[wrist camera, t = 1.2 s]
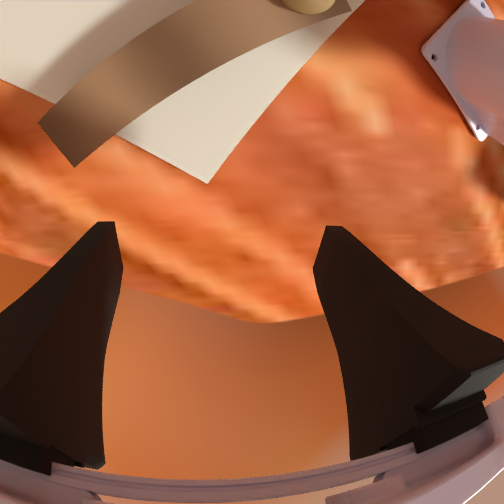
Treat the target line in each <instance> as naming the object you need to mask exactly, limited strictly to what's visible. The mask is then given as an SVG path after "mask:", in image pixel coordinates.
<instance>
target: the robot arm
mask: <svg viewBox="0 0 504 504" xmlns="http://www.w3.org/2000/svg"><path fill="white" fill-rule="evenodd" d="M481 5H482V7H481ZM421 51H422V54H423V56H424V57H425V59H426V60H427V61H428V63H429V64H430V65H431V67H432V68H433V69H434V71H435V72H436V74H437V75H438V76H439V78H440V79H441V81H442V82H443V84H444V85H445V87H446V88H447V90H448V91H449V93H450V94H451V96H452V97H453V99H454V101H455V102H456V104H457V105H458V107H459V109H460V110H461V112H462V114H463V115H464V117H465V119H466V120H467V122H468V124H469V126H470V128H471V129H472V131H473V133H474V135H475V137H476V138H477V139H478V140H479V141H483V140H484V139H485V138H486V137H487V136H488V135H489V136H490V137H492V138H493V139H495V140H496V141H498V142H499V143H501V144H502V145H504V21H503V20H499V19H495V18H494V16H493V14H492V12H491V11H490V9H489V7H488V6H487V4H486V2H485V1H484V0H466V1H465V2H464V3H463V4H462V5H461V6H460V7H459V8H458V9H457V10H456V11H455V12H454V13H453V15H452V16H451V17H450V18H449V19H448V20H447V21H446V22H445V23H444V24H443V25H442V26H441V27H440V28H439V29H438V30H437V31H436V32H435V33H434V34H433V35H432V36H431V38H430V39H429V40H428V41H427V42H426V43H425V44H424V45H423V46H422V49H421ZM432 54H433V55H434V59H433V60H432ZM476 126H477V127H476ZM122 273H123V263H122V259H121V254H120V249H119V244H118V239H117V233H116V228H115V222H114V221H113V222H97V223H96V224H95V225H94V226H93V227H92V228H90V229H89V230H88V231H87V232H86V233H85V234H84V236H83V237H82V238H81V239H80V240H79V241H78V242H77V243H76V244H75V245H74V246H73V247H72V248H71V249H70V250H69V251H68V252H67V253H66V254H65V255H64V256H63V257H62V258H61V259H60V260H59V261H58V262H57V263H56V264H55V265H54V266H53V267H52V268H51V269H50V270H49V271H48V272H47V273H46V274H45V275H44V276H43V277H42V278H41V279H40V280H39V281H38V282H37V283H35V284H34V285H33V286H32V287H31V288H30V289H29V290H28V291H27V292H25V293H24V294H23V295H22V296H21V297H20V298H19V299H17V300H16V301H15V302H14V303H12V304H11V305H10V306H8V307H7V308H6V309H5V310H3V311H2V312H1V313H0V504H111V503H106V502H103V501H102V500H101V498H100V497H99V496H98V495H97V494H100V495H107V496H112V497H119V498H127V499H135V500H144V501H145V500H146V501H156V502H157V501H158V502H175V503H224V502H242V501H253V500H263V499H272V498H279V497H286V496H292V495H298V494H304V493H309V492H314V491H319V490H324V489H328V488H333V487H337V486H341V485H345V484H348V483H352V482H356V481H359V480H363V479H366V478H370V477H373V476H376V475H377V476H376V477H375V478H374V481H373V483H372V484H369V485H366V486H363V487H359V488H356V489H353V490H349V491H347V492H343V493H340V494H336V495H333V496H329V497H326V499H325V501H326V504H464V503H466V502H467V501H468V500H469V499H470V498H472V497H473V496H474V495H475V494H476V493H478V492H479V491H480V490H481V489H482V488H483V487H485V486H486V485H487V484H488V483H489V482H490V481H491V480H492V479H493V478H494V477H495V476H496V475H497V474H498V473H500V472H501V471H502V470H503V469H504V396H503V397H501V398H500V399H498V400H496V401H494V402H492V403H491V404H489V405H488V406H486V407H485V408H484V405H483V403H482V401H483V400H485V399H486V394H485V392H484V389H485V388H486V387H488V386H489V385H490V384H491V383H492V382H493V381H495V380H496V379H497V378H498V377H499V376H500V375H501V374H502V373H503V372H504V342H503V340H502V339H500V338H498V337H496V336H493V335H491V334H489V333H487V332H485V331H483V330H480V329H478V328H476V327H474V326H472V325H471V324H469V323H467V322H465V321H463V320H461V319H460V318H458V317H456V316H455V315H453V314H451V313H449V312H448V311H447V310H445V309H443V308H442V307H440V306H438V305H437V304H436V303H434V302H433V301H431V300H430V299H428V298H427V297H426V296H424V295H423V294H422V293H420V292H419V291H418V290H416V289H415V288H414V287H412V286H411V285H410V284H409V283H407V282H406V281H405V280H404V279H402V278H401V277H400V276H399V275H398V274H396V273H395V272H394V271H393V270H392V269H391V268H389V267H388V266H387V265H386V264H385V263H384V262H383V261H381V260H380V259H379V258H378V257H377V256H376V255H375V254H374V253H373V252H371V251H370V250H369V249H368V248H367V247H366V246H365V245H364V244H363V243H361V242H360V241H359V240H358V239H357V238H356V237H355V236H353V235H352V234H351V233H350V232H349V231H347V230H346V229H345V228H344V227H342V226H326V228H325V231H324V234H323V238H322V241H321V244H320V247H319V251H318V254H317V257H316V260H315V263H314V266H313V273H314V278H315V283H316V288H317V292H318V295H319V298H320V301H321V304H322V307H323V310H324V313H325V316H326V319H327V322H328V325H329V328H330V330H331V333H332V336H333V339H334V342H335V346H336V349H337V352H338V357H339V362H340V367H341V372H342V376H343V383H344V389H345V396H346V404H347V413H348V424H349V442H350V443H349V444H350V459H351V461H349V462H345V463H341V464H336V465H332V466H327V467H322V468H317V469H312V470H307V471H300V472H294V473H287V474H280V475H272V476H263V477H253V478H239V479H219V480H176V479H156V478H143V477H133V476H124V475H116V474H109V473H103V472H96V471H91V470H86V469H81V468H76V467H74V466H77V467H82V468H84V467H86V468H92V469H99V468H101V467H102V466H103V465H104V464H105V455H104V445H103V430H102V388H103V386H102V385H103V372H104V359H105V353H106V347H107V343H108V338H109V334H110V329H111V325H112V321H113V317H114V313H115V309H116V305H117V301H118V297H119V293H120V287H121V280H122ZM94 493H95V494H94Z"/></svg>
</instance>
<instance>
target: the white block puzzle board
mask: <svg viewBox="0 0 504 504" xmlns="http://www.w3.org/2000/svg"><path fill="white" fill-rule="evenodd" d="M194 1H196V0H0V79H2V80H4V81H6V82H9V83H11V84H13V85H15V86H17V87H19V88H22V89H24V90H26V91H28V92H30V93H32V94H34V95H37V96H39V97H41V98H43V99H45V100H47V101H49V102H51V103H53V104H56V103H57V102H58V101H59V100H60V99H61V98H62V97H63V96H64V95H65V94H66V93H67V92H69V91H70V90H71V89H72V88H73V87H74V86H75V85H76V84H77V83H78V82H79V81H81V80H82V79H83V78H84V77H85V76H86V75H87V74H89V73H90V72H91V71H92V70H93V69H95V68H96V67H97V66H98V65H99V64H101V63H102V62H103V61H104V60H106V59H107V58H108V57H109V56H111V55H112V54H113V53H115V52H116V51H117V50H119V49H120V48H121V47H123V46H124V45H125V44H127V43H128V42H130V41H131V40H132V39H134V38H135V37H137V36H138V35H140V34H141V33H143V32H144V31H145V30H147V29H149V28H150V27H152V26H153V25H155V24H156V23H158V22H159V21H161V20H163V19H164V18H166V17H168V16H169V15H171V14H173V13H174V12H176V11H178V10H179V9H181V8H183V7H185V6H187V5H188V4H190V3H192V2H194ZM364 1H365V0H347V2H348V4H349V6H350V8H351V10H352V11H350V12H347V13H344V14H341V15H338V16H335V17H332V18H329V19H326V20H323V21H320V22H317V23H314V24H312V25H309V26H306V27H304V28H301V29H299V30H296V31H294V32H291V33H289V34H286V35H284V36H282V37H279V38H277V39H275V40H272V41H270V42H268V43H266V44H264V45H261V46H259V47H257V48H255V49H253V50H251V51H249V52H247V53H245V54H243V55H241V56H239V57H237V58H235V59H233V60H231V61H229V62H227V63H225V64H223V65H221V66H219V67H218V68H216V69H214V70H212V71H210V72H209V73H207V74H205V75H203V76H202V77H200V78H198V79H196V80H195V81H193V82H191V83H190V84H188V85H186V86H185V87H183V88H181V89H180V90H178V91H177V92H175V93H173V94H172V95H170V96H169V97H167V98H166V99H164V100H163V101H161V102H159V103H158V104H156V105H155V106H154V107H152V108H151V109H149V110H148V111H146V112H145V113H143V114H142V115H140V116H139V117H138V118H136V119H135V120H133V121H132V122H131V123H129V124H128V125H127V126H125V127H124V128H123V129H121V130H120V131H119V132H117V133H116V134H115V135H117V136H119V137H121V138H123V139H125V140H127V141H129V142H131V143H133V144H134V145H136V146H138V147H140V148H142V149H144V150H146V151H148V152H150V153H151V154H153V155H155V156H157V157H159V158H161V159H163V160H165V161H166V162H168V163H170V164H172V165H174V166H176V167H177V168H179V169H181V170H183V171H185V172H187V173H188V174H190V175H192V176H194V177H196V178H197V179H199V180H201V181H203V182H205V183H206V184H208V182H209V181H210V180H211V178H212V177H213V176H214V174H215V173H216V172H217V170H218V169H219V168H220V166H221V165H222V164H223V162H224V161H225V160H226V158H227V157H228V156H229V154H230V153H231V152H232V151H233V149H234V148H235V147H236V145H237V144H238V143H239V142H240V140H241V139H242V138H243V136H244V135H245V134H246V133H247V131H248V130H249V129H250V128H251V126H252V125H253V124H254V123H255V121H256V120H257V119H258V118H259V117H260V115H261V114H262V113H263V112H264V110H265V109H266V108H267V107H268V106H269V104H270V103H271V102H272V101H273V100H274V98H275V97H276V96H277V95H278V94H279V92H280V91H281V90H282V89H283V88H284V87H285V85H286V84H287V83H288V82H289V81H290V80H291V79H292V77H293V76H294V75H295V74H296V73H297V72H298V71H299V69H300V68H301V67H302V66H303V65H304V64H305V63H306V62H307V60H308V59H309V58H310V57H311V56H312V55H313V54H314V53H315V52H316V51H317V50H318V48H319V47H320V46H321V45H322V44H323V43H324V42H325V41H326V40H327V39H328V38H329V37H330V36H331V35H332V34H333V32H334V31H335V30H336V29H337V28H338V27H339V26H340V25H341V24H342V23H343V22H344V21H345V20H346V19H347V18H348V17H349V16H350V15H351V14H352V13H353V12H354V11H355V10H356V9H357V8H358V7H359V6H360V5H361V4H362V3H363V2H364Z"/></svg>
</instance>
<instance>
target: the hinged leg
mask: <svg viewBox="0 0 504 504" xmlns="http://www.w3.org/2000/svg"><path fill="white" fill-rule="evenodd" d="M350 11H352V10H351V8H350V6H349V4H348V2H347V0H196V1H194V2H192V3H190V4H188V5H187V6H185V7H183V8H181V9H179V10H178V11H176V12H174V13H173V14H171V15H169V16H168V17H166V18H164V19H163V20H161V21H159V22H158V23H156V24H155V25H153V26H152V27H150V28H149V29H147V30H145V31H144V32H143V33H141V34H140V35H138V36H137V37H135V38H134V39H132V40H131V41H130V42H128V43H127V44H125V45H124V46H123V47H121V48H120V49H119V50H117V51H116V52H115V53H113V54H112V55H111V56H109V57H108V58H107V59H106V60H104V61H103V62H102V63H101V64H99V65H98V66H97V67H96V68H95V69H93V70H92V71H91V72H90V73H89V74H87V75H86V76H85V77H84V78H83V79H82V80H81V81H79V82H78V83H77V84H76V85H75V86H74V87H73V88H72V89H71V90H70V91H69V92H67V93H66V94H65V95H64V96H63V97H62V98H61V99H60V100H59V101H58V102H57V103H56V104H55V105H54V106H53V107H52V108H51V109H50V110H49V111H48V112H47V113H46V114H45V115H44V116H43V117H42V118H41V120H40V121H39V122H38V124H39V125H40V126H41V127H42V129H43V130H44V131H45V132H46V134H47V135H48V136H49V137H50V139H51V140H52V141H53V142H54V144H55V145H56V146H57V147H58V149H59V150H60V151H61V152H62V153H63V155H64V156H65V157H66V158H67V159H68V161H69V162H70V163H71V164H72V165H73V167H74V168H75V167H76V166H77V165H78V164H79V163H80V162H82V161H83V160H84V159H85V158H86V157H87V156H89V155H90V154H91V153H92V152H93V151H95V150H96V149H97V148H98V147H100V146H101V145H102V144H103V143H104V142H106V141H107V140H108V139H110V138H111V137H112V136H113V135H115V134H116V133H117V132H119V131H120V130H121V129H123V128H124V127H125V126H127V125H128V124H129V123H131V122H132V121H133V120H135V119H136V118H138V117H139V116H140V115H142V114H143V113H145V112H146V111H148V110H149V109H151V108H152V107H154V106H155V105H156V104H158V103H159V102H161V101H163V100H164V99H166V98H167V97H169V96H170V95H172V94H173V93H175V92H177V91H178V90H180V89H181V88H183V87H185V86H186V85H188V84H190V83H191V82H193V81H195V80H196V79H198V78H200V77H202V76H203V75H205V74H207V73H209V72H210V71H212V70H214V69H216V68H218V67H219V66H221V65H223V64H225V63H227V62H229V61H231V60H233V59H235V58H237V57H239V56H241V55H243V54H245V53H247V52H249V51H251V50H253V49H255V48H257V47H259V46H261V45H264V44H266V43H268V42H270V41H272V40H275V39H277V38H279V37H282V36H284V35H286V34H289V33H291V32H294V31H296V30H299V29H301V28H304V27H306V26H309V25H312V24H314V23H317V22H320V21H323V20H326V19H329V18H332V17H335V16H338V15H341V14H344V13H347V12H350Z"/></svg>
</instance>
